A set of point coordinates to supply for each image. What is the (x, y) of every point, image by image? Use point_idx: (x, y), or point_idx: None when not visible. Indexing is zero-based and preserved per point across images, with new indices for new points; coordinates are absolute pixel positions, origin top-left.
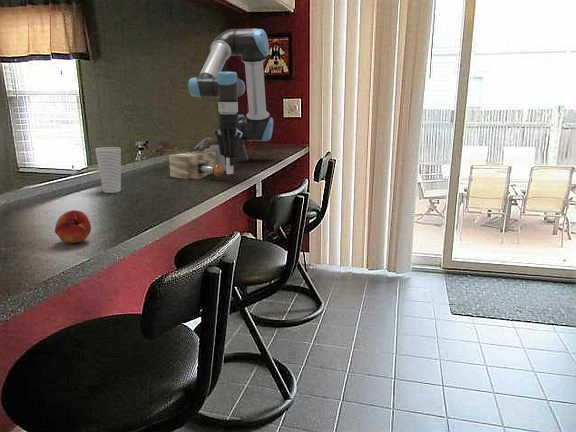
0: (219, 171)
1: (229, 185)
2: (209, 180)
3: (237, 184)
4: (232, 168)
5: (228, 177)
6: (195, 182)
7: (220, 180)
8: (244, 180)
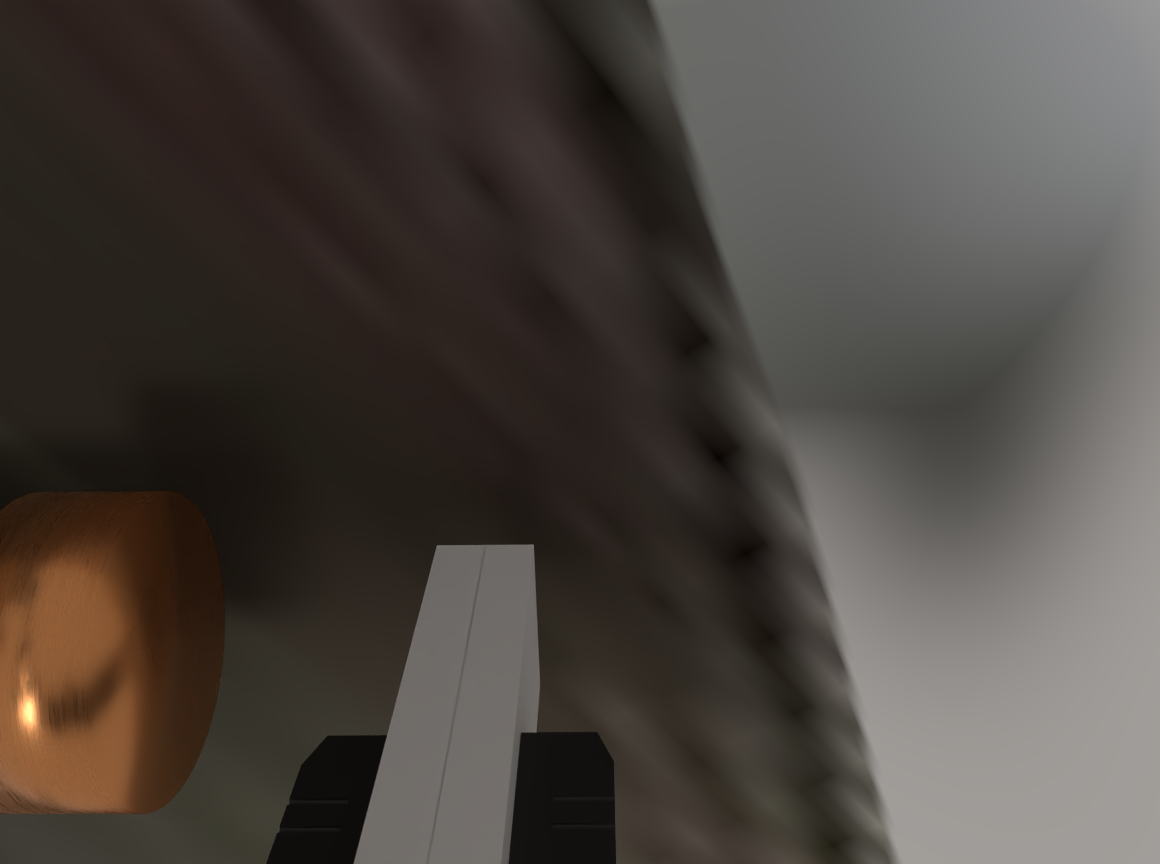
0: (180, 671)
1: (725, 742)
2: None
3: (800, 616)
4: (527, 662)
5: (50, 117)
6: (57, 839)
7: (228, 503)
8: (663, 209)
